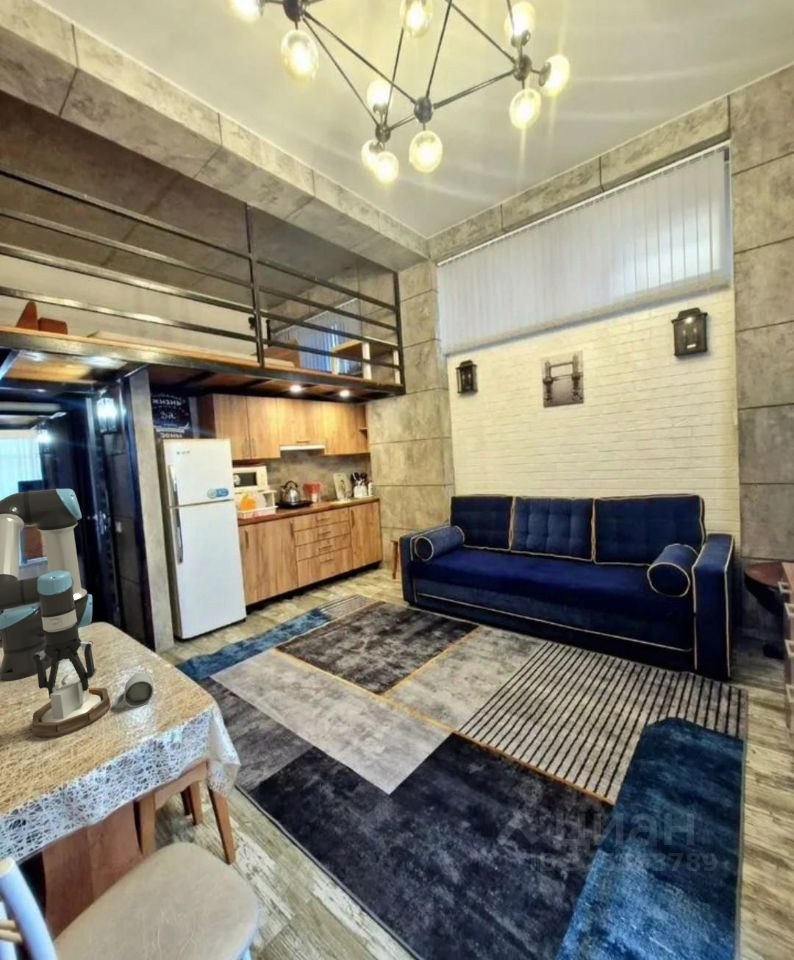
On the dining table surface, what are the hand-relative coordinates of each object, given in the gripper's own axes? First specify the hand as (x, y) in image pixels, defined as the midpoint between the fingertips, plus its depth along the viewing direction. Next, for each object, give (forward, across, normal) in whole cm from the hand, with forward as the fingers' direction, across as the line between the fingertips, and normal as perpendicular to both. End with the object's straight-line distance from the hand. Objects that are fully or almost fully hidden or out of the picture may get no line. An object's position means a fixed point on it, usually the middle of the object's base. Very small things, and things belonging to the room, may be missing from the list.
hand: (71, 704), depth 122 cm
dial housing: (+4, 0, 0) cm, 4 cm away
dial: (+2, 0, 0) cm, 2 cm away
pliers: (+4, -4, +22) cm, 23 cm away
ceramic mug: (+4, +16, 0) cm, 16 cm away
